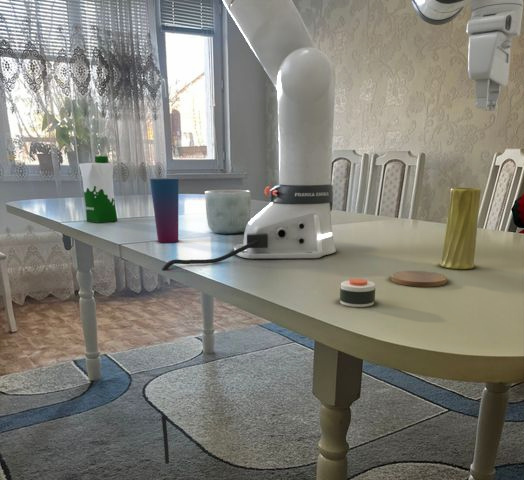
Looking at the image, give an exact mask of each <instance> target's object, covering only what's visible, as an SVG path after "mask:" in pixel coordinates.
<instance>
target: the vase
mask: <svg viewBox="0 0 524 480" xmlns="http://www.w3.org/2000/svg"><path fill="white" fill-rule="evenodd" d="M481 193H482V188H481V187H451V188H450V194H449V206H448V214H447V218H446V226H445V227H446V229H445V235H444V241H443V248H442V252H441V253H442V255H441V260H440V266H441V267H442V268H445V269H451V270H471V269H474V268H475V253H476V246H477V233H478V223H479V214H480V213H479V212H480V204H481V203H480V202H481Z"/></svg>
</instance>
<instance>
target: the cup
mask: <svg viewBox="0 0 524 480" xmlns="http://www.w3.org/2000/svg"><path fill="white" fill-rule="evenodd" d="M149 184H150V192H151V199H152V207H153V214H154V222H155V229H156V237H157V242H158V243H161V244H162V243H163V244H171V243H173V244H174V243H177V242H179V178H178V177H151V178H149Z"/></svg>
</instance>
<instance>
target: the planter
mask: <svg viewBox="0 0 524 480" xmlns="http://www.w3.org/2000/svg"><path fill="white" fill-rule="evenodd" d="M251 192H252V191H251V190H245V189H214V190H206V191H204V198H205V199H204V200H205V212H206V221H207V226H208V229H209V230H210V231H211V232H212V233H215V234H223V235H233V234H234V235H235V234H241V233H245V228H246V225H247V223H248V222H249V221H250V220H251V199H252V198H251V195H252V193H251Z"/></svg>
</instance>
